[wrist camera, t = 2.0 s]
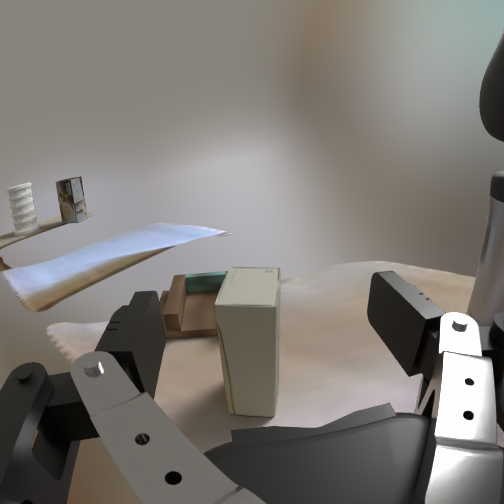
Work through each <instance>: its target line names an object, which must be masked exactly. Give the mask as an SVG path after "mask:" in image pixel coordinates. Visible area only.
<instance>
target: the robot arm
mask: <svg viewBox="0 0 504 504" xmlns="http://www.w3.org/2000/svg"><path fill="white" fill-rule="evenodd" d="M479 103H480V105H479V108H480V115H481V119H482V123H483V125H484V127H485V129H486V130H487V131H488V133H489V134H490V135H491V136H493V137H494V138H496V139H498V140H500V141H503V142H504V31H503V34H502V36H501V39H500V41H499V43H498V46H497V48H496V50H495V52H494V55H493V57H492V59H491V61H490V63H489V65H488V68H487V70H486V72H485V75H484V78H483V81H482V86H481V91H480V102H479ZM367 315H368V320H369V322H370V324H371V326H372V327H373V328H374V330H375V331H376V332H377V334H378V335H379V336H380V338H381V339H382V340H383V342H384V343H385V345H386V346H387V347H388V349H389V350H390V351H391V353H392V354H393V355H394V357H395V358H396V360H397V361H398V362H399V364H400V365H401V367H402V368H403V369H404V371H405V372H406V374H407V375H408V376H409V377H410V376H413V375H416V374H420V373H422V374H423V377H422V379H421V382H420V387H419V392H418V397H417V402H416V407H415V411H414V414H413V413H395V411H394V409H393V408H392V406H391V404H390V403H386V404H383V405H379V406H375V407H372V408H368V409H364V410H359V411H355V412H353V413H351V414H349V415H347V416H344V417H342V418H340V419H338V420H336V421H333V422H331V423H329V424H327V425H324V426H322V427H318V428H301V427H280V426H270V427H261V428H251V429H239V430H231V433H232V442H229V443H225V444H223V445H220V446H217V447H215V448H213V449H211V450H209V451H207V452H205V453H204V454H203V453H202V452H201V451H200V450H199V449H198V448H197V447H196V446H195V445H194V444H193V443H192V442H191V441H190V440H189V439H188V438H187V437H186V436H185V435H184V434H183V433H182V432H181V431H180V430H179V428H178V427H177V426H176V425H175V424H174V423H173V422H172V421H171V420H170V419H169V417H168V416H167V415H166V414H165V413H164V412H163V411H162V409H161V408H160V407H159V406H158V405H157V404H156V402H155V401H154V396H155V391H156V386H157V380H158V376H159V371H160V366H161V361H162V356H163V352H164V347H165V340H166V337H165V327H164V323H163V318H162V313H161V308H160V303H159V298H158V294H157V292H156V291H141V292H135V294H134V296H133V298H132V300H131V302H130V304H129V305H128V306H127V305H126V306H122V307H121V308H119V309H118V310H117V311H116V312H115V313H114V314H113V315H112V317H111V319H110V321H109V323H108V325H107V327H106V330H105V331H104V333H103V335H102V337H101V339H100V341H99V343H98V345H97V347H96V349H95V351H94V352H90V353H87V354H84V355H82V356H81V357H79V358H78V359H76V360H75V361H74V363H73V364H72V366H71V369H70V372H67V373H61V374H55V375H48V374H47V371H46V369H45V368H44V366H43V365H41V364H39V363H35V362H32V363H26V364H23V365H20V366H19V367H17V368H16V369H14V370H13V371H12V372H11V374H10V375H9V377H8V378H7V380H6V382H5V384H4V385H3V387H2V389H1V390H0V504H67V499H68V494H69V489H70V484H71V479H72V475H73V470H74V465H75V461H76V457H77V453H78V449H79V445H80V441H81V440H84V439H91V438H97V437H101V439H102V441H103V443H104V444H105V446H106V448H107V449H108V451H109V453H110V455H111V456H112V458H113V459H114V461H115V463H116V464H117V466H118V468H119V469H120V471H121V472H122V474H123V475H124V477H125V478H126V480H127V481H128V483H129V484H130V486H131V487H132V489H133V490H134V491H135V493H136V494H137V496H138V497H139V498H140V500H141V501H142V503H143V504H504V448H503V447H500V446H497V443H496V422H497V423H498V424H499V426H500V427H501V429H502V430H503V432H504V171H500V172H497V173H495V174H494V175H493V176H492V180H491V187H490V199H489V207H488V215H487V223H486V229H485V236H484V242H483V247H482V252H481V257H480V262H479V266H478V271H477V275H476V279H475V283H474V287H473V291H472V295H471V298H470V302H469V306H468V309H467V312H466V315H464V314H460V313H448V314H447V313H445V312H444V311H443V310H442V309H441V308H440V307H439V306H438V305H436V304H435V303H434V302H433V301H432V300H431V299H430V300H429V297H427V296H426V295H425V294H423V292H422V291H420V290H419V289H418V288H417V287H416V286H414V285H412V284H410V283H407V282H406V281H404V280H403V279H402V278H401V277H400V276H399V275H397V274H396V273H395V272H394V271H385V272H376V273H374V274H373V276H372V279H371V286H370V294H369V301H368V308H367ZM36 429H37V430H38V434H37V437H36V440H35V442H34V445H33V448H32V447H31V445H32V440H33V436H34V434H35V431H36Z"/></svg>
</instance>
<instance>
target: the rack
mask: <svg viewBox="0 0 504 504" xmlns="http://www.w3.org/2000/svg"><path fill="white" fill-rule="evenodd" d="M227 273H228V271H224V272H212V273H200V274H186V275H174V278H173V281H172V285H171V288H170V291H163V292H162V295H161V299H160V301H159V303H160V308H161V313H162V318H163V323H164V327H165V337H166V338H180V337H197V336H212V335H218V328H217V320H216V310H215V302H216V299H217V296H218V294H219V291H220V289H221V286H222V284H223V281H224V279H225V277H226V275H227Z"/></svg>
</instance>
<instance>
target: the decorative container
mask: <svg viewBox="0 0 504 504" xmlns="http://www.w3.org/2000/svg"><path fill="white" fill-rule="evenodd" d="M31 185H32V183H31V182H29V183H25V184H21V185H18V186H14V187H11V188H8V189H7V192H8V193H9V201H10V202H11V207H10V208H11V209H12V217H13V218H14V226H15V228H16V230H15V231H14V235H15V236H21V235H25V234H29V233H31V232H34V231H36V230H38V229H39V228H40V224H39V223H37V222H36V215H35V208H34V206H33V199H32V191H31V188H30V186H31Z"/></svg>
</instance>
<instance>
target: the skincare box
mask: <svg viewBox="0 0 504 504" xmlns="http://www.w3.org/2000/svg"><path fill="white" fill-rule="evenodd" d="M215 310H216V320H217V328H218V337H219V345H220V354H221V362H222V370H223V377H224V385H225V392H226V399H227V406H228V412H229V414H237V415H247V416H262V417H274V416H275V411H276V404H277V395H278V384H279V354H280V268H252V267H251V268H250V267H231V268H230V269H229V271H228V273H227V275H226V277H225V279H224V281H223V284H222V286H221V289H220V291H219V294H218V296H217V299H216V302H215Z"/></svg>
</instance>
